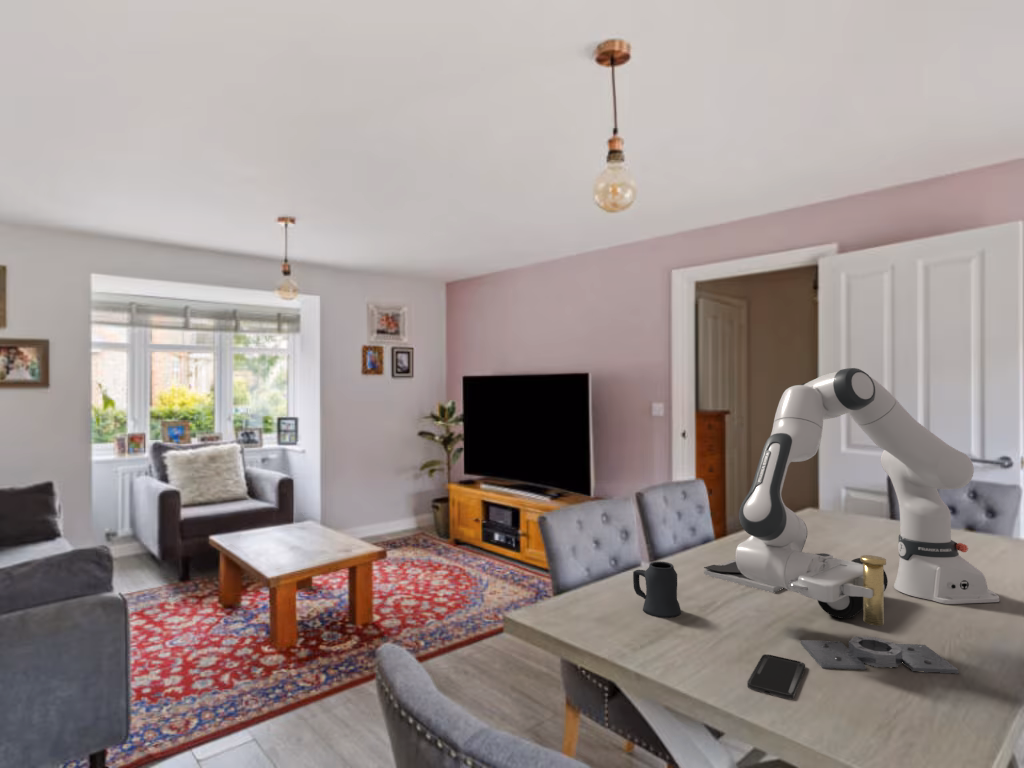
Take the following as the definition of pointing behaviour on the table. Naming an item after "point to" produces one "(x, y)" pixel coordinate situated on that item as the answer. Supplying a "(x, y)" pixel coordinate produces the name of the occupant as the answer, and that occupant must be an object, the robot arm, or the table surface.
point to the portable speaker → (847, 602)
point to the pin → (875, 580)
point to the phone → (777, 676)
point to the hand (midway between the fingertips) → (878, 591)
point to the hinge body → (876, 655)
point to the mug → (659, 590)
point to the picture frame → (736, 576)
